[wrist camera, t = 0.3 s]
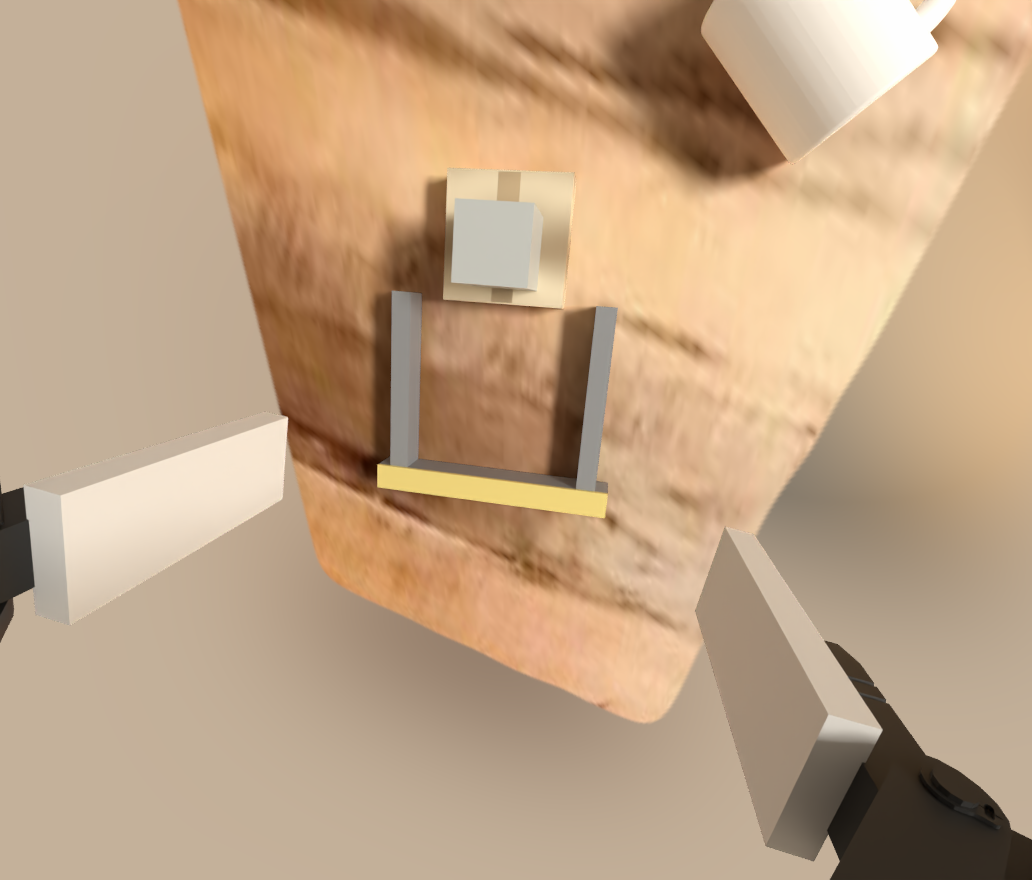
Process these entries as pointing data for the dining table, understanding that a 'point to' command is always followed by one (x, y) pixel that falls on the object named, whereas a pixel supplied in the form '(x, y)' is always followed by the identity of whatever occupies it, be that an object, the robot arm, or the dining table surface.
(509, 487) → the dock
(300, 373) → the dining table surface
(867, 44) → the mug
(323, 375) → the dining table surface
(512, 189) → the pallet
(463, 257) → the light grey cube
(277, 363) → the dining table surface
